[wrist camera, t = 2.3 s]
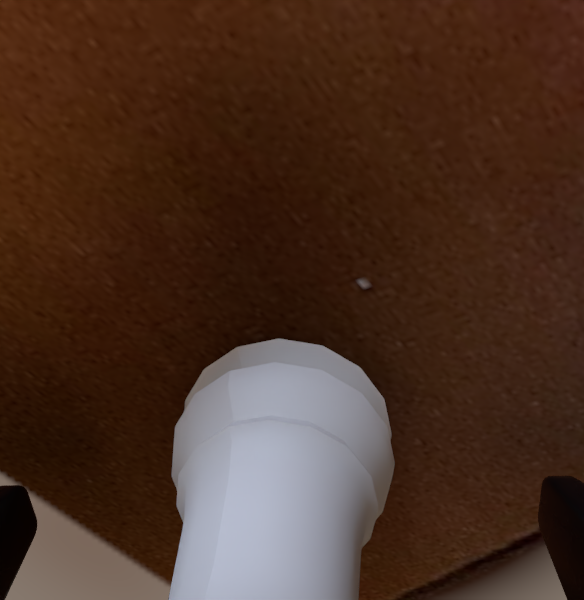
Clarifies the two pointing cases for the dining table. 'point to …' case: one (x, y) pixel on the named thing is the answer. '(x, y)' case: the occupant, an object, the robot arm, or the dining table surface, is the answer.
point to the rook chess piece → (278, 475)
